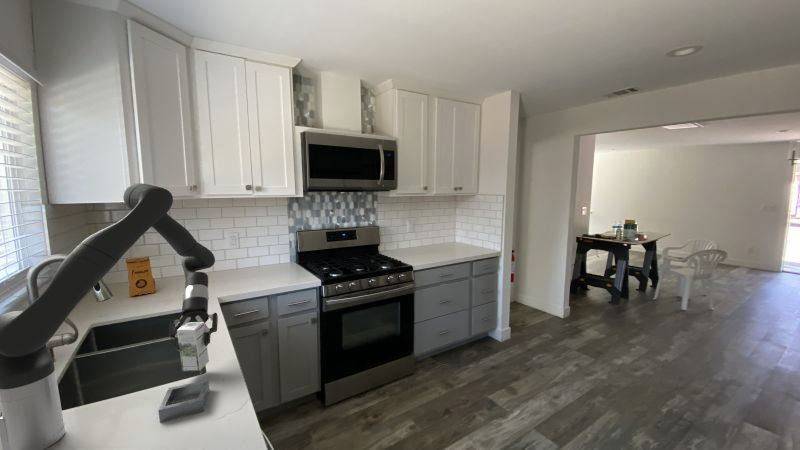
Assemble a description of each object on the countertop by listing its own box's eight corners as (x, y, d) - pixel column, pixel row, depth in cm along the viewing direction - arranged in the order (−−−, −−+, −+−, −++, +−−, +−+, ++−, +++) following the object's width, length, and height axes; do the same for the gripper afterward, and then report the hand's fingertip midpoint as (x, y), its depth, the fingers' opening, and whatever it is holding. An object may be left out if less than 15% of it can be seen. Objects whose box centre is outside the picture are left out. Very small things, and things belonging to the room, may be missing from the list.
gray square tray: (159, 422, 86) (158, 410, 86) (170, 399, 95) (168, 388, 95) (203, 411, 90) (202, 399, 89) (209, 390, 99) (208, 379, 99)
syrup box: (209, 361, 109) (205, 320, 107) (199, 371, 103) (194, 328, 101) (192, 362, 109) (187, 321, 107) (181, 372, 103) (176, 329, 101)
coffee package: (155, 294, 189) (151, 257, 186) (128, 298, 182) (123, 260, 180) (157, 289, 197) (153, 254, 195) (131, 293, 191) (126, 257, 188)
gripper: (168, 299, 107) (162, 348, 98) (217, 292, 113) (216, 339, 104) (174, 308, 113) (168, 356, 104) (220, 302, 118) (219, 346, 109)
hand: (192, 347), depth 104 cm, fingers closed on syrup box, 7 cm apart
